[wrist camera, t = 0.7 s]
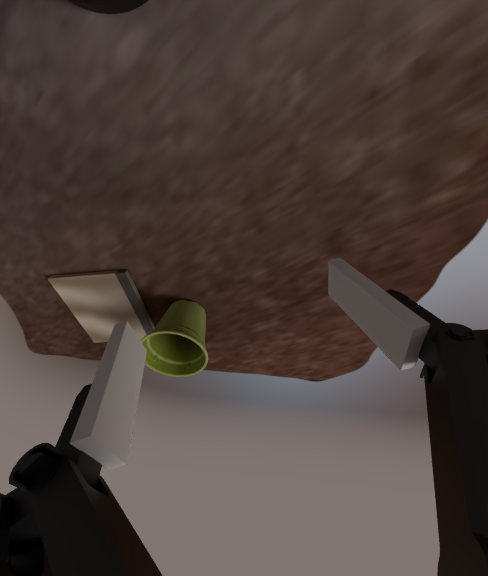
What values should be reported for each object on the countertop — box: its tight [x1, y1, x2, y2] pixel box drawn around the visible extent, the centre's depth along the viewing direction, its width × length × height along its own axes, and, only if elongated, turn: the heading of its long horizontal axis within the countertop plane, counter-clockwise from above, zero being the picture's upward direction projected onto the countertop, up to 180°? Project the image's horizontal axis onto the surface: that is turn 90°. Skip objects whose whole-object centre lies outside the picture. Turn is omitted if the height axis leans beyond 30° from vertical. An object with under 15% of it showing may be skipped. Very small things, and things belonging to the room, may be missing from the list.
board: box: [48, 270, 155, 342], centre depth 37 cm, size 14×12×1 cm
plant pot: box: [141, 300, 208, 377], centre depth 34 cm, size 9×9×9 cm
